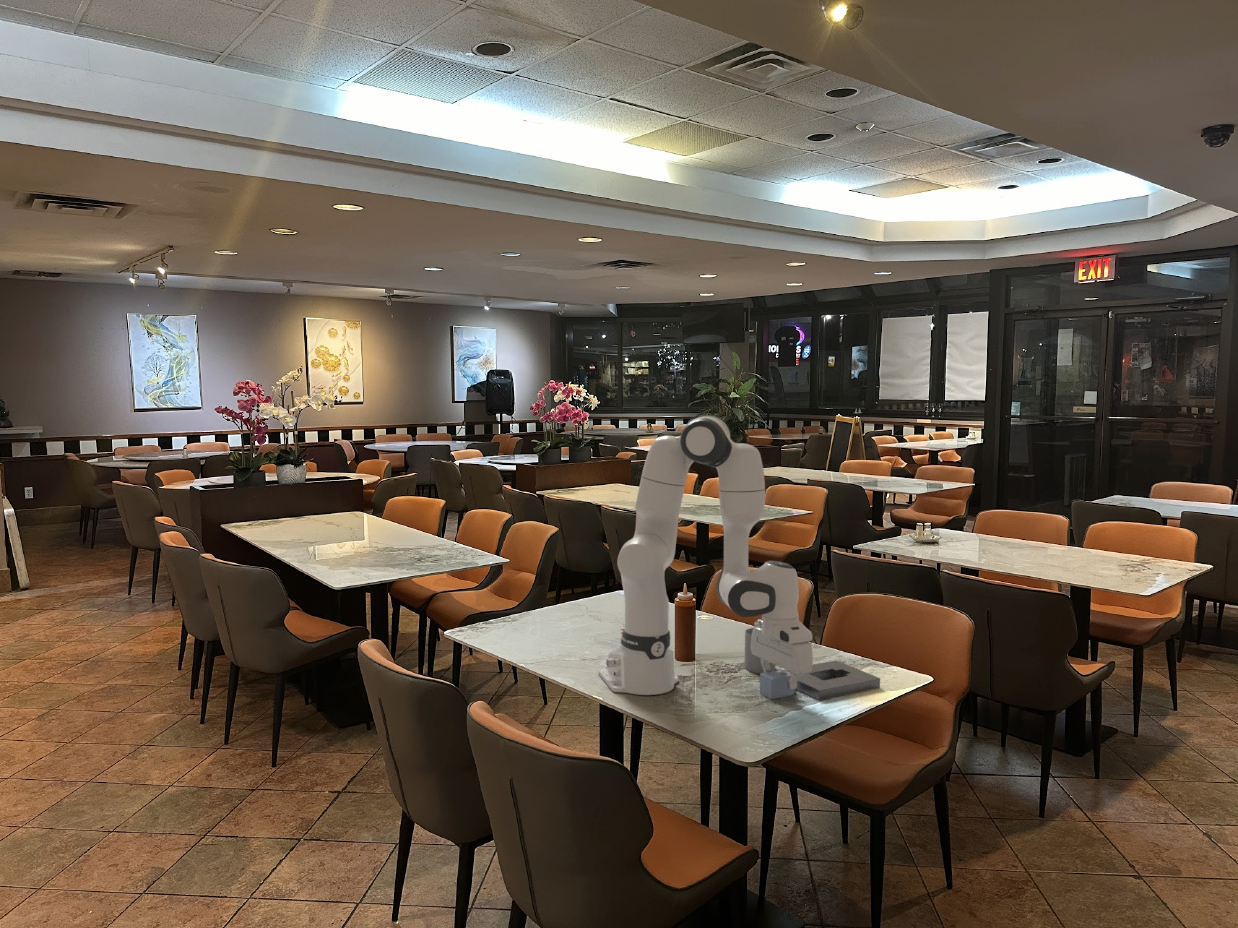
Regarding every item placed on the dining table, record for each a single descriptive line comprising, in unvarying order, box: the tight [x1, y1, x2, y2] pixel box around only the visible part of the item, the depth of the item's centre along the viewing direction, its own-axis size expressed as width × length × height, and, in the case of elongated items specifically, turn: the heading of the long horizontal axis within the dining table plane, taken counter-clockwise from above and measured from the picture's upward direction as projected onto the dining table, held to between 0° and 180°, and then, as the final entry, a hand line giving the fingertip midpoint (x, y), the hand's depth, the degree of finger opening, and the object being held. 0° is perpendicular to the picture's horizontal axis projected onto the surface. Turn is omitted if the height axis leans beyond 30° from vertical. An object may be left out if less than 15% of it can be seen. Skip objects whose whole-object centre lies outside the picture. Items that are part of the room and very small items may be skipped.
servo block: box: [759, 667, 796, 700], centre depth 201 cm, size 4×8×6 cm, turn 118°
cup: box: [743, 627, 776, 674], centre depth 220 cm, size 8×8×10 cm
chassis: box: [787, 660, 881, 701], centre depth 208 cm, size 16×20×2 cm
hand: (779, 682), depth 199 cm, fingers open, 8 cm apart
